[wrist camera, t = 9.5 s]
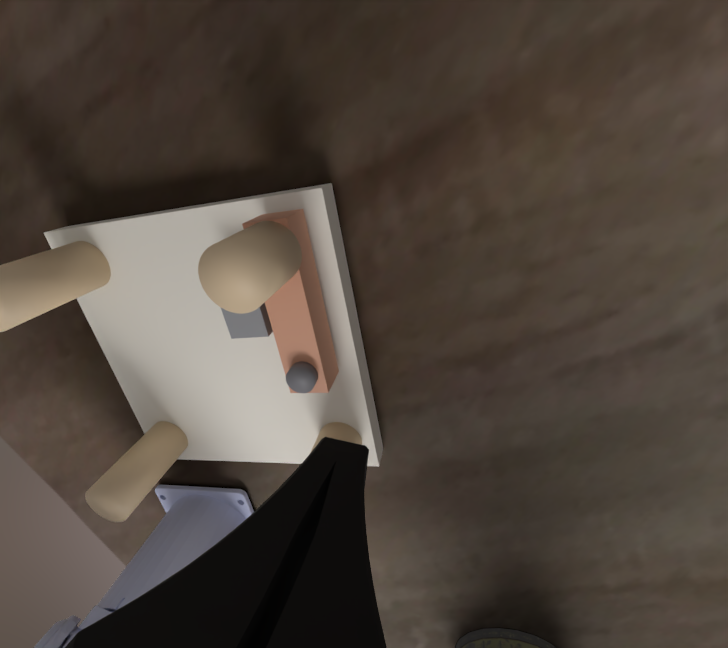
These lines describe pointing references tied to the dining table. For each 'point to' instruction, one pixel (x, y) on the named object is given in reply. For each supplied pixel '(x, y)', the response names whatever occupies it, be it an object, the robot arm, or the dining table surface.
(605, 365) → the dining table surface
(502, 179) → the dining table surface
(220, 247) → the folding leg
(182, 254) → the stool seat
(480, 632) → the thermos
